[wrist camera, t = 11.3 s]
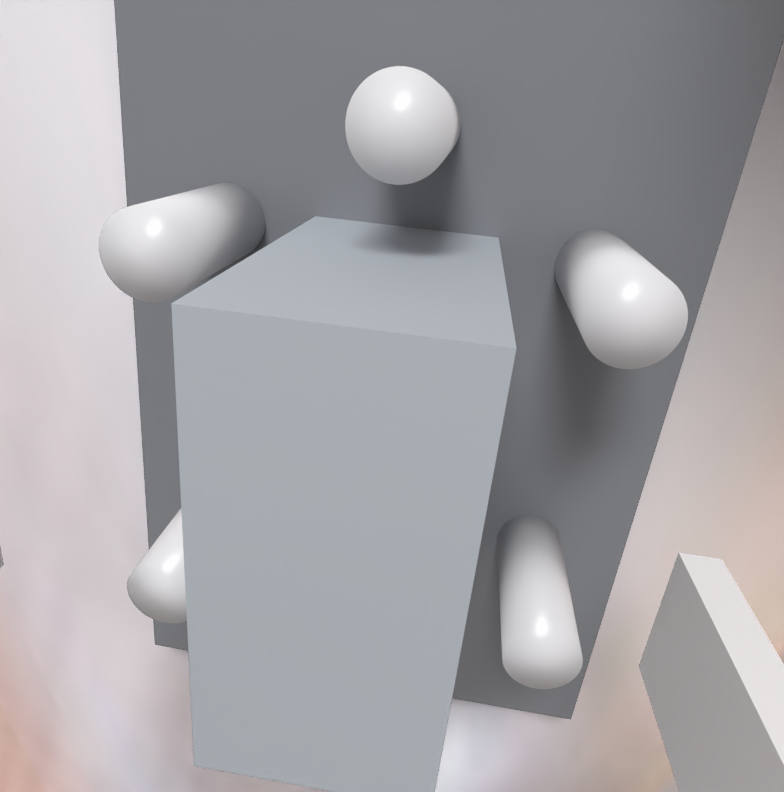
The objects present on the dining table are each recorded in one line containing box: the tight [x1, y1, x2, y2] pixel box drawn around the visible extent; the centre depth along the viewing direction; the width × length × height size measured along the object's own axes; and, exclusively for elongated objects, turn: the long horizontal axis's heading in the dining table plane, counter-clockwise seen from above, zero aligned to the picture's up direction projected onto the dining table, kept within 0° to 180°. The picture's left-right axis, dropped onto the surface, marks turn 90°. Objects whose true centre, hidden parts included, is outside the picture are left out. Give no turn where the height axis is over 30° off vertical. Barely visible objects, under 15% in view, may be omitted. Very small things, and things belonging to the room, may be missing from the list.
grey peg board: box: [99, 0, 784, 719], centre depth 18 cm, size 16×24×6 cm, turn 174°
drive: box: [171, 216, 516, 792], centre depth 15 cm, size 5×10×9 cm, turn 174°
